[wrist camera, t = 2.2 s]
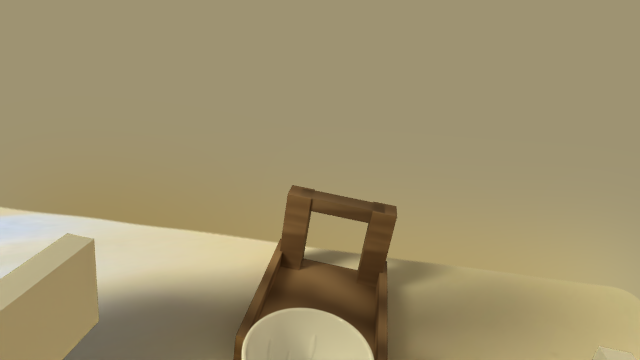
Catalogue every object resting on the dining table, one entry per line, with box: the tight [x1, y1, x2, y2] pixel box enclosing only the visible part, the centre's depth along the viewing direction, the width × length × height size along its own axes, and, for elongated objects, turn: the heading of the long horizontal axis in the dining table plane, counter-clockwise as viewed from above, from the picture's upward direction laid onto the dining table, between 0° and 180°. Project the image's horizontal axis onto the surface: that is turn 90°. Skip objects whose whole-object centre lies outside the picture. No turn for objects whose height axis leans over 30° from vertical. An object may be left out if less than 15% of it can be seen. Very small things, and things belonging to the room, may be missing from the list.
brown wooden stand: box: [234, 185, 397, 360], centre depth 41 cm, size 16×12×10 cm
